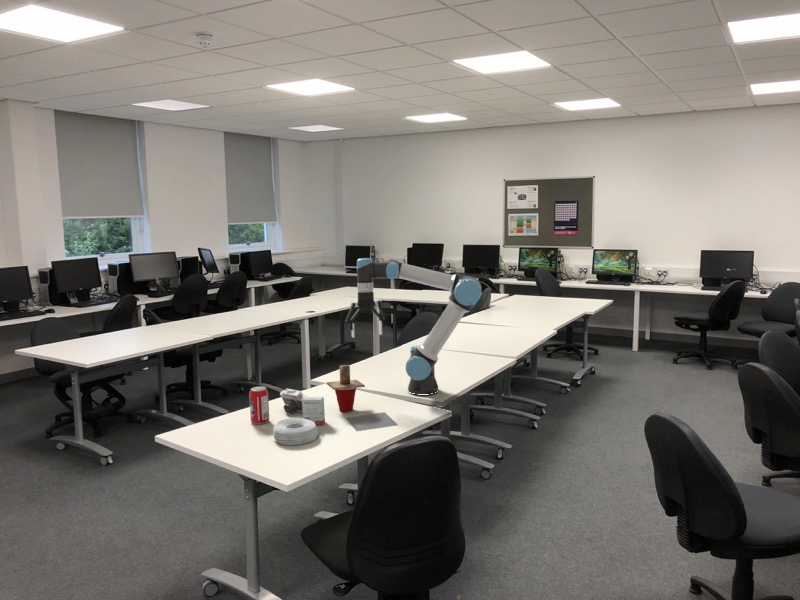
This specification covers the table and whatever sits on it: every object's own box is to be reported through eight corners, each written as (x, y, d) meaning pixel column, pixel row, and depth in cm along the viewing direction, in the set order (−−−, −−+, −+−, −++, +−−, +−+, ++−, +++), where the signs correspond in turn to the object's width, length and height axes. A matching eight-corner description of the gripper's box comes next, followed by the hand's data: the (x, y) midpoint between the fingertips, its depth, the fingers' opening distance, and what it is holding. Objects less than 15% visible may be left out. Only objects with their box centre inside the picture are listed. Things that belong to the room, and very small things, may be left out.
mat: (384, 413, 266) (384, 412, 266) (398, 426, 249) (398, 425, 249) (345, 418, 260) (345, 417, 260) (356, 432, 243) (356, 431, 243)
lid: (356, 381, 278) (355, 362, 277) (364, 386, 264) (364, 367, 264) (326, 383, 273) (325, 364, 272) (333, 389, 260) (332, 369, 259)
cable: (279, 430, 248) (278, 416, 247) (321, 430, 247) (320, 416, 246) (268, 446, 231) (267, 431, 230) (313, 446, 230) (312, 431, 229)
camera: (291, 402, 281) (283, 385, 277) (314, 407, 271) (306, 389, 267) (278, 415, 275) (269, 397, 271) (301, 420, 265) (292, 402, 261)
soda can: (266, 425, 255) (264, 390, 253) (248, 425, 255) (246, 391, 253) (271, 418, 262) (269, 385, 260) (253, 419, 263) (252, 385, 261)
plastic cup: (359, 407, 275) (358, 381, 274) (357, 414, 265) (356, 388, 263) (335, 407, 276) (334, 382, 274) (332, 415, 265) (331, 389, 263)
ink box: (325, 423, 255) (324, 396, 254) (323, 426, 251) (321, 399, 249) (305, 422, 256) (304, 396, 255) (303, 426, 252) (301, 399, 250)
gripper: (341, 294, 274) (343, 339, 276) (393, 290, 282) (394, 334, 285) (337, 292, 281) (339, 336, 283) (388, 288, 289) (389, 332, 292)
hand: (367, 335), depth 284 cm, fingers open, 13 cm apart
